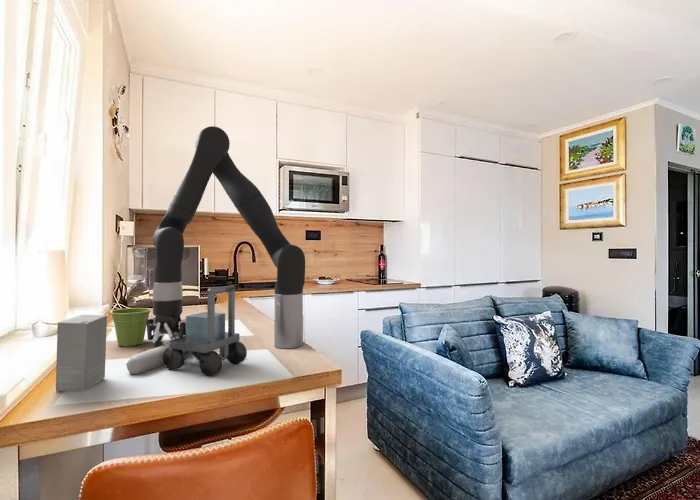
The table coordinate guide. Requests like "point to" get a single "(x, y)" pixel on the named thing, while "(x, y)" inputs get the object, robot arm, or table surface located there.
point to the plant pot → (130, 325)
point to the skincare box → (80, 352)
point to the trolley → (208, 338)
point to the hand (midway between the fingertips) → (167, 356)
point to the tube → (147, 360)
